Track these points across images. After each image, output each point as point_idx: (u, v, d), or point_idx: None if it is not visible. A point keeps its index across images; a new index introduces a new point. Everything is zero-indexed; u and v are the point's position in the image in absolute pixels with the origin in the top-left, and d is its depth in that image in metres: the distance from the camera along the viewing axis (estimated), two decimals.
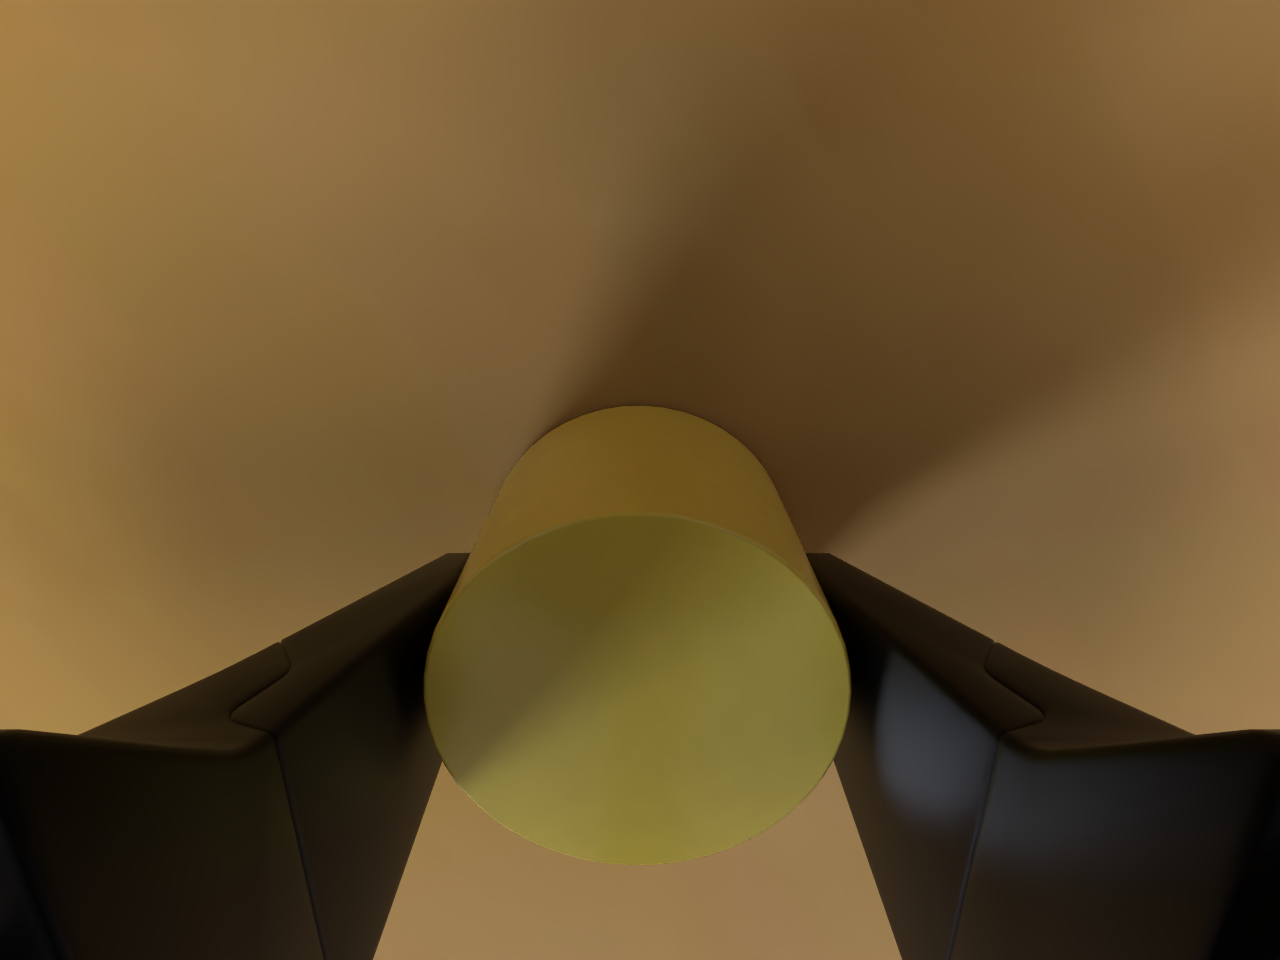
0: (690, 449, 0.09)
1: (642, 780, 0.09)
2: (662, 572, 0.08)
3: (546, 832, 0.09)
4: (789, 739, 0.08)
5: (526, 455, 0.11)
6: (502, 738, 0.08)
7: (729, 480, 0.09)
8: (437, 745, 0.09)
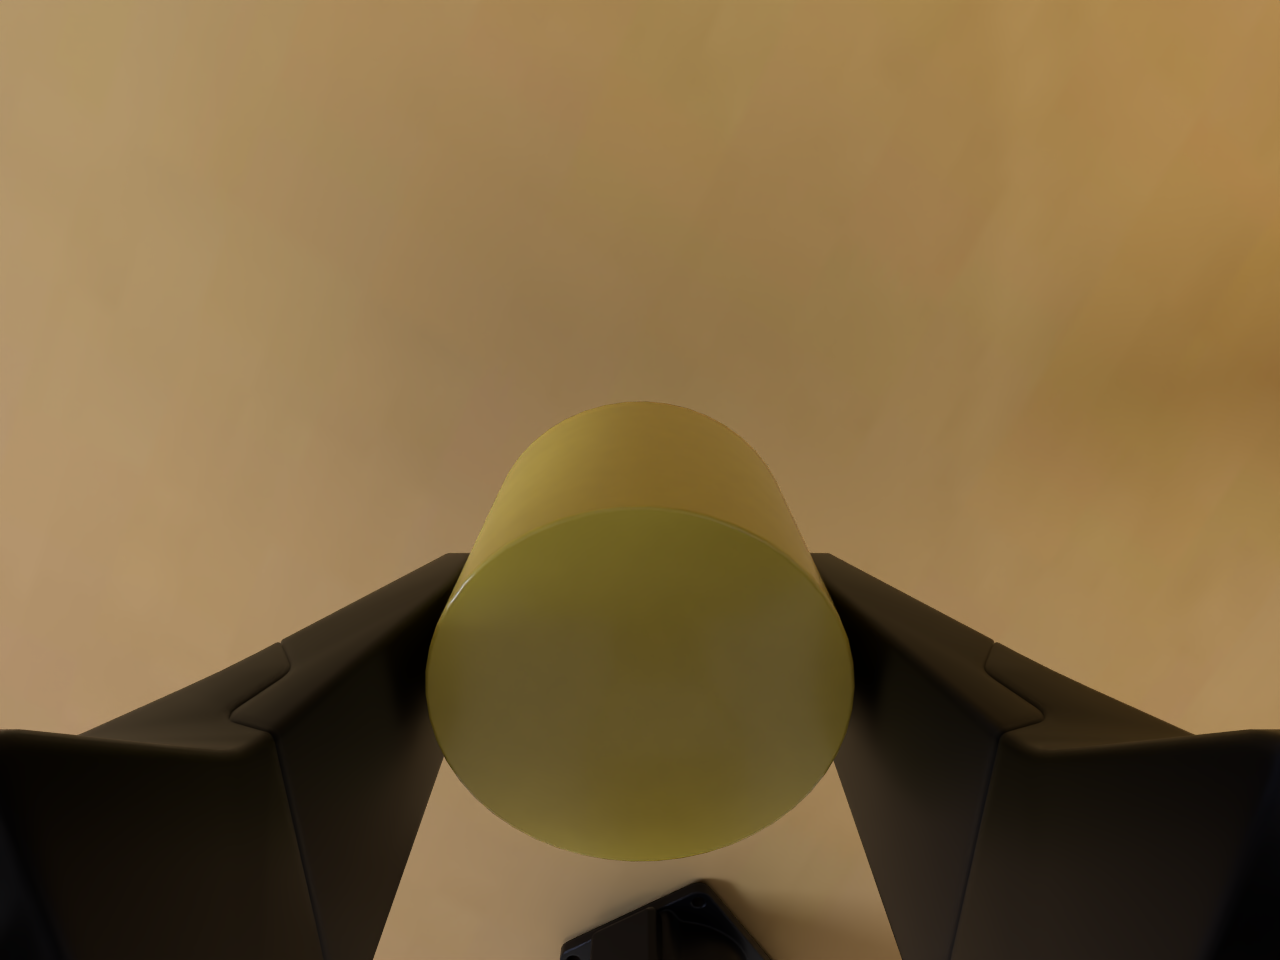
0: (692, 444, 0.09)
1: (644, 776, 0.09)
2: (665, 567, 0.08)
3: (548, 828, 0.09)
4: (792, 735, 0.08)
5: (528, 451, 0.11)
6: (504, 733, 0.08)
7: (732, 475, 0.09)
8: (438, 740, 0.09)
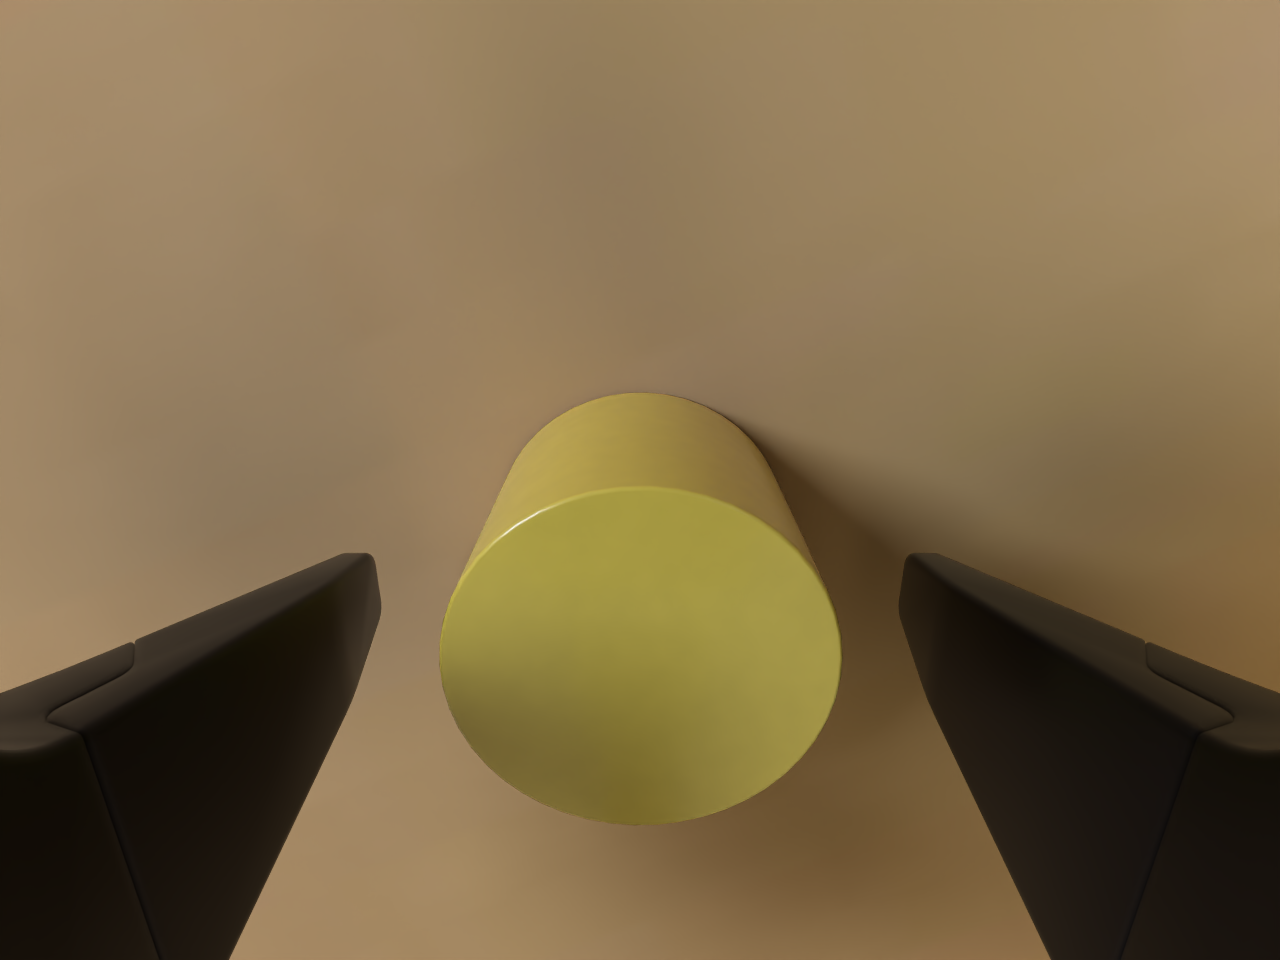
0: (690, 432, 0.10)
1: (644, 743, 0.09)
2: (664, 544, 0.08)
3: (554, 792, 0.09)
4: (783, 703, 0.09)
5: (533, 440, 0.12)
6: (513, 702, 0.09)
7: (727, 460, 0.09)
8: (451, 709, 0.09)
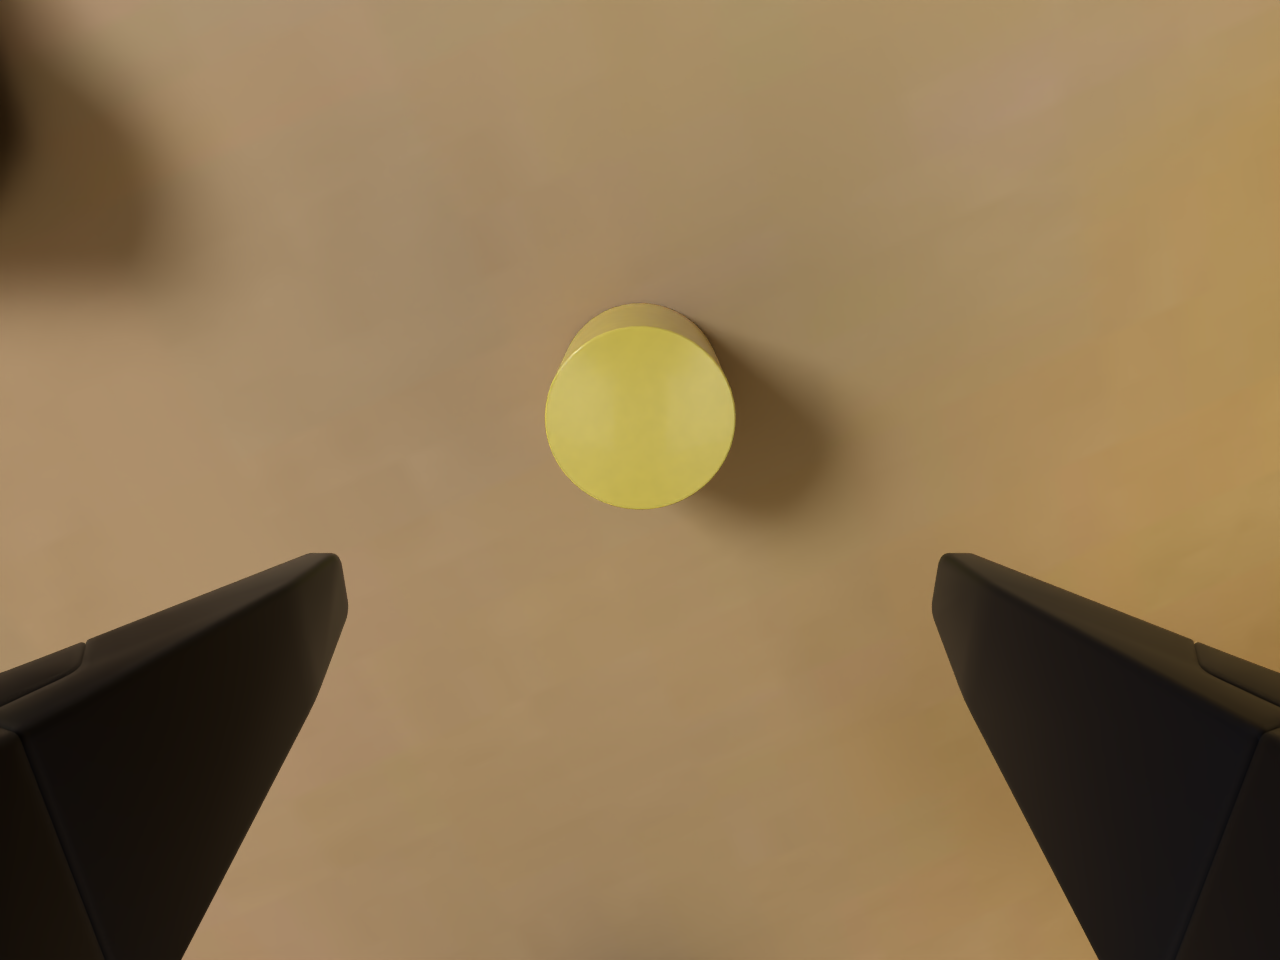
0: (665, 316, 0.20)
1: (642, 461, 0.19)
2: (651, 354, 0.18)
3: (597, 490, 0.19)
4: (708, 438, 0.19)
5: (582, 328, 0.21)
6: (579, 438, 0.19)
7: (683, 326, 0.19)
8: (549, 443, 0.19)
